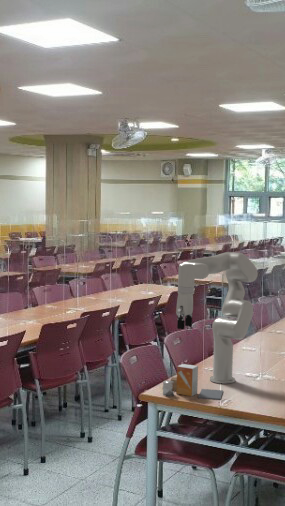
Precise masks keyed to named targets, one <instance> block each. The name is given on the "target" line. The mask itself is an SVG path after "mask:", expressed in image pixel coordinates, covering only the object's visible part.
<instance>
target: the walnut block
mask: <svg viewBox="0 0 285 506" xmlns="http://www.w3.org/2000/svg"><path fill="white" fill-rule="evenodd" d="M170 381H174V391H176V388H177V376H171V378H170Z"/></svg>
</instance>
